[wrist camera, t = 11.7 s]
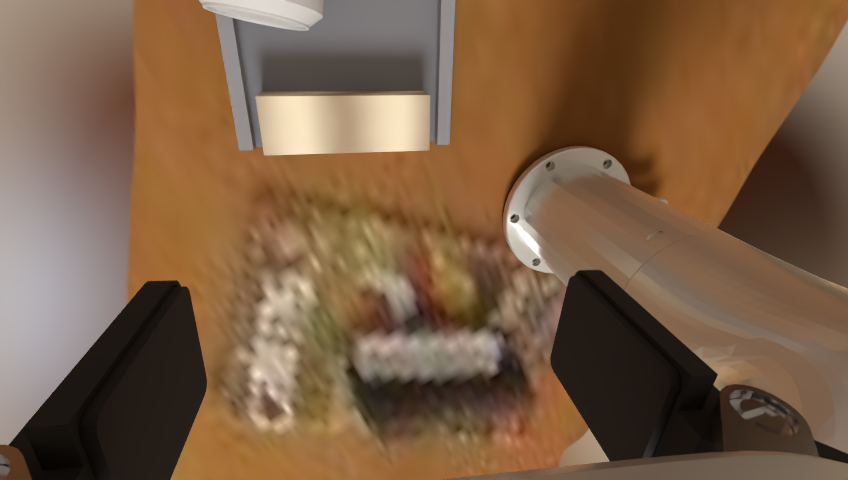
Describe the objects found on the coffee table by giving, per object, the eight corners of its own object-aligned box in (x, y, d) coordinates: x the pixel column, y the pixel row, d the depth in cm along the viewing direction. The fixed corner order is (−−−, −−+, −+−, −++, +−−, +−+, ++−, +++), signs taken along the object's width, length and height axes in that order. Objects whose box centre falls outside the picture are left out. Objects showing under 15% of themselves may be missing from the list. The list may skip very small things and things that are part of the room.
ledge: (422, 90, 33) (430, 95, 30) (421, 141, 35) (429, 150, 32) (262, 91, 31) (255, 96, 28) (270, 145, 33) (264, 155, 30)
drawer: (452, -63, 29) (457, -67, 28) (445, 140, 35) (449, 144, 34) (205, -77, 26) (198, -83, 25) (243, 145, 32) (239, 150, 31)
